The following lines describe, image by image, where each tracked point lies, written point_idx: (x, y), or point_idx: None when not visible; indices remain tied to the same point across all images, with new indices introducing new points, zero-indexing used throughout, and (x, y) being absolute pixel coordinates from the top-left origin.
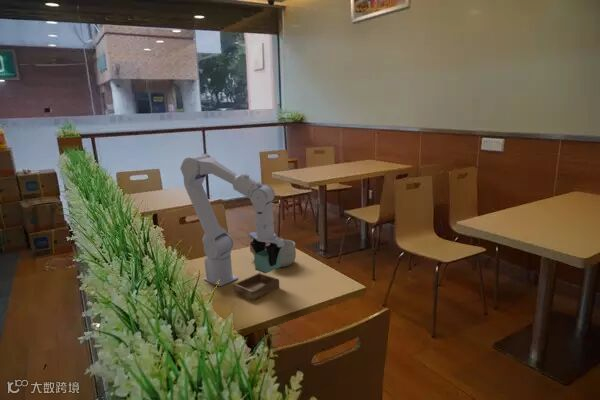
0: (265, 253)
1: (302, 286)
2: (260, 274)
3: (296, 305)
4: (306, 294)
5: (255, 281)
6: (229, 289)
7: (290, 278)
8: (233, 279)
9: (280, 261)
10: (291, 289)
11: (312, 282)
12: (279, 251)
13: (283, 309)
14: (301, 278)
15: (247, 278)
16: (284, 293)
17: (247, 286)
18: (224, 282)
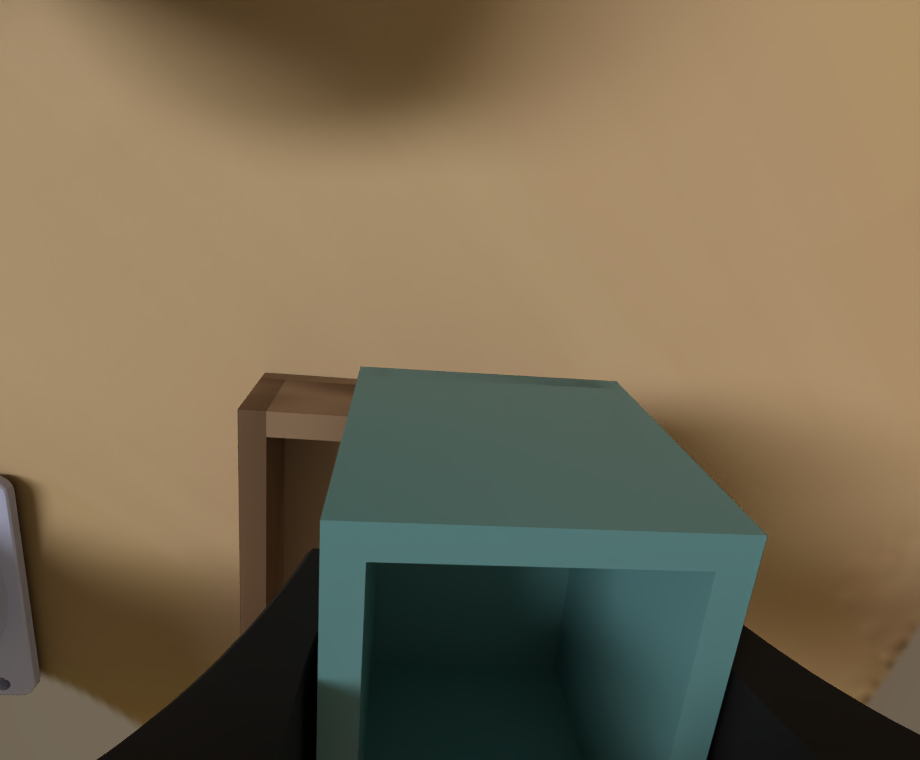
0: (366, 635)
1: (783, 233)
2: (285, 436)
3: (899, 556)
4: (900, 359)
5: (282, 472)
6: (167, 663)
7: (538, 125)
8: (12, 544)
9: (648, 422)
10: (709, 354)
11: (847, 75)
12: (758, 554)
13: (829, 649)
14: (665, 45)
15: (251, 601)
16: (691, 455)
17: (285, 568)
18: (7, 637)
